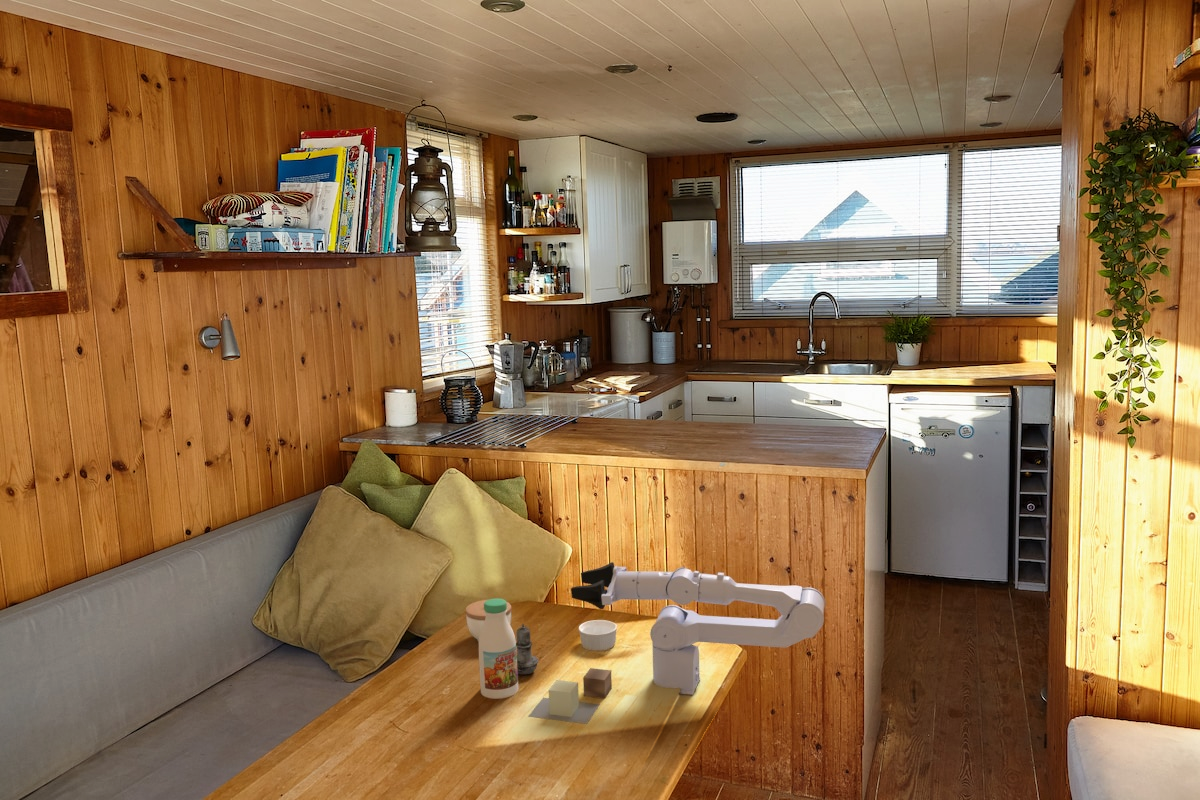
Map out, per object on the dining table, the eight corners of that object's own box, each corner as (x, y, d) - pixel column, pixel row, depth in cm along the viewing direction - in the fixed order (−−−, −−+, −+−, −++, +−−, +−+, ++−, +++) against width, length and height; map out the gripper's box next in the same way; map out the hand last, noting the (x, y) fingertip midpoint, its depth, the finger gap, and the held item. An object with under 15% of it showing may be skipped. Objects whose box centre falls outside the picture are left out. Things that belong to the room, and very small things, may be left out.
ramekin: (574, 650, 214) (573, 632, 214) (585, 635, 223) (585, 618, 222) (611, 654, 212) (610, 635, 211) (622, 638, 220) (621, 621, 219)
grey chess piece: (535, 683, 198) (532, 629, 196) (508, 681, 199) (505, 628, 197) (542, 671, 204) (539, 618, 202) (516, 669, 205) (513, 617, 203)
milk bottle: (473, 698, 192) (468, 605, 189) (494, 683, 199) (490, 592, 196) (505, 706, 188) (500, 611, 185) (525, 690, 195) (521, 598, 192)
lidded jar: (521, 634, 224) (520, 597, 222) (493, 651, 215) (491, 612, 213) (486, 626, 229) (484, 589, 228) (457, 642, 221) (455, 604, 219)
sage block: (578, 706, 185) (578, 682, 184) (571, 717, 181) (570, 692, 180) (557, 703, 186) (556, 679, 186) (549, 714, 182) (548, 690, 182)
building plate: (599, 709, 186) (599, 704, 186) (587, 728, 178) (586, 723, 178) (543, 702, 189) (543, 697, 189) (528, 721, 182) (528, 716, 182)
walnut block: (611, 693, 193) (611, 670, 192) (605, 703, 188) (604, 679, 188) (591, 690, 194) (590, 668, 193) (584, 700, 190) (583, 677, 189)
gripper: (645, 553, 200) (583, 553, 203) (630, 582, 186) (564, 581, 190) (648, 584, 201) (587, 583, 205) (633, 614, 188) (568, 613, 191)
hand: (576, 584), depth 198 cm, fingers open, 7 cm apart
